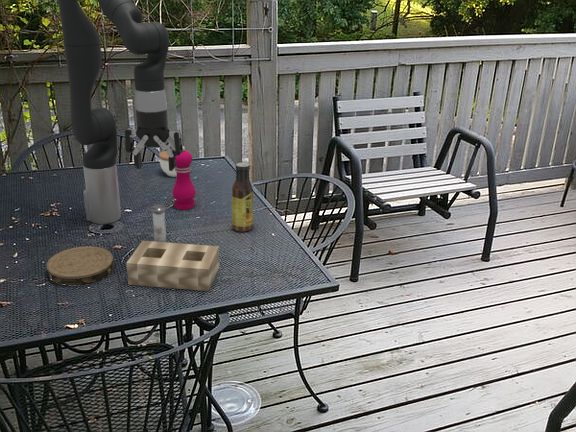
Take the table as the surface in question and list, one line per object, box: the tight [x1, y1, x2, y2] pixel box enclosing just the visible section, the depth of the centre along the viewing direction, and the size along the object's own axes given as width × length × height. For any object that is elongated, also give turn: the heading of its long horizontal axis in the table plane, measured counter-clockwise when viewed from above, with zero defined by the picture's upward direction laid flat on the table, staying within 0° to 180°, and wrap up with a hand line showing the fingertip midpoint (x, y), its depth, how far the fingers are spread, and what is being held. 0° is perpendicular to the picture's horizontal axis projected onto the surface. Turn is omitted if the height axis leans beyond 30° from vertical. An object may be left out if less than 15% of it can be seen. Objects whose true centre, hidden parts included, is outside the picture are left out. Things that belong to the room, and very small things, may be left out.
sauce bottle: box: [231, 162, 254, 233], centre depth 168 cm, size 7×6×20 cm
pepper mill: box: [172, 145, 196, 211], centre depth 182 cm, size 7×7×20 cm
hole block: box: [126, 240, 220, 292], centre depth 145 cm, size 20×12×6 cm, turn 84°
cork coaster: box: [46, 245, 115, 286], centre depth 147 cm, size 16×16×3 cm
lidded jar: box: [158, 148, 177, 178], centre depth 210 cm, size 11×11×9 cm
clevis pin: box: [149, 204, 167, 242], centre depth 157 cm, size 4×4×12 cm
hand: (155, 169), depth 150 cm, fingers open, 8 cm apart
